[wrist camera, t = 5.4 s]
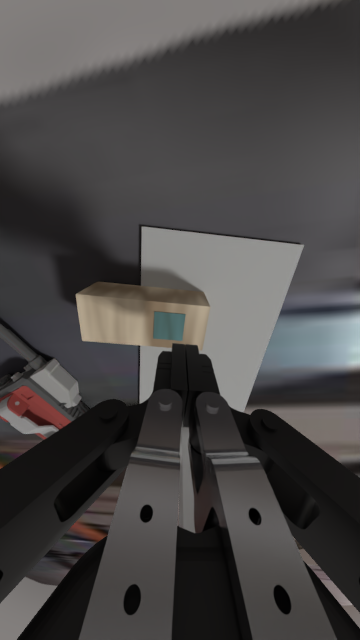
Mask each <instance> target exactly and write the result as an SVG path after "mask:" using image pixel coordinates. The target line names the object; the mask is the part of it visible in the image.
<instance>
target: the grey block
mask: <svg viewBox="0 0 360 640" xmlns="http://www.w3.org/2000/svg"><path fill="white" fill-rule="evenodd" d="M188 439H189V428H182V429H181V438H180V482H179V527H181V528H183V529H186V530H188V531H191V532H193V533H195V526H194V493H193V485H192V477H191V468H190V460H189V452H188Z"/></svg>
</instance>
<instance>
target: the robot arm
mask: <svg viewBox="0 0 360 640" xmlns="http://www.w3.org/2000/svg"><path fill="white" fill-rule="evenodd" d="M182 422H183V427H189V439H188V452H189V460H190V468H191V477H192V485H193V493H194V526H195V533H193V532H191V531H188V530H186V529H183V528H181V527H179V526H177V521H178V502H179V482H180V438H181V427H182ZM126 466H127V470H126V473H125V477H124V480H123V484H122V488H121V491H120V495H119V498H118V502H117V505H116V509H115V512H114V516H113V520H112V523H111V527H110V530H109V534H108V536H106V537H105V538H103V539H102V540H100V541H99V542H98V543H96V544H95V545H94V546H93V547H92V548H90V549H89V550H88V551H87V552H86V553H85V554H84V555H83V556H82V557H81V558H80V559H79V560H78V561H77V563H76V564H75V565H74V566H73V567H72V568H71V570H70V571H69V572H68V573H67V575H66V576H65V577H64V579H63V580H62V581H61V583H60V584H59V585H58V586H57V588H56V589H55V590H54V592H53V593H52V594H51V596H50V597H49V598H48V599H47V601H46V602H45V603H44V605H43V606H42V608H41V609H40V610H39V611H38V613H37V614H36V615H35V616H34V618H33V619H32V620H31V622H30V623H29V624H28V626H27V627H26V628H25V629H24V631H23V632H22V634H21V635H20V636H19V637H18V639H17V640H360V628H359V627H358V626H357V625H356V623H355V622H354V621H353V620H352V619H351V617H350V616H349V615H348V614H347V612H346V611H345V610H344V609H343V608H342V606H341V605H340V604H339V602H338V601H337V600H336V599H335V598H334V596H333V595H332V594H331V593H330V591H329V590H328V589H327V588H326V586H325V585H324V584H323V583H322V582H321V580H320V579H319V578H318V577H317V575H316V574H315V573H314V572H313V571H312V569H311V568H310V567H309V566H308V565H307V564H306V563H305V562H304V561H303V559H302V557H301V555H300V552H299V550H298V548H297V545H296V543H295V541H294V538H295V539H296V540H297V541H298V543H299V544H300V545H301V546H302V547H303V548H304V549H305V551H306V552H307V553H308V554H309V555H310V556H311V557H312V559H313V560H314V561H315V562H316V563H317V564H318V565H319V567H320V568H321V569H322V570H323V571H324V572H325V573H326V575H327V576H328V577H329V578H330V579H331V580H332V581H333V583H334V584H335V585H336V586H337V587H338V588H339V589H340V591H341V592H342V593H343V594H344V595H345V596H346V597H347V599H348V600H349V601H350V602H351V603H352V604H353V605H354V607H356V609H357V610H358V611H359V612H360V478H359V477H358V476H357V475H355V474H354V473H353V472H351V471H350V470H349V469H347V468H346V467H345V466H343V465H342V464H341V463H339V462H338V461H337V460H335V459H334V458H333V457H331V456H330V455H329V454H327V453H326V452H325V451H323V450H322V449H321V448H320V447H318V446H317V445H316V444H314V443H313V442H312V441H310V440H309V439H308V438H306V437H305V436H304V435H302V434H301V433H300V432H298V431H297V430H296V429H294V428H293V427H292V426H290V425H289V424H288V423H286V422H285V421H284V420H282V419H281V418H280V417H278V416H277V415H276V414H274V413H272V412H270V411H268V410H264V409H257V410H254V411H253V412H252V413H251V415H249V414H246V413H243V412H240V411H237V410H235V409H233V408H231V407H230V406H229V405H228V403H227V401H226V400H225V399H224V398H223V397H222V396H221V395H220V392H219V388H218V384H217V380H216V377H215V373H214V369H213V366H212V362H211V359H210V358H209V357H208V356H207V355H206V354H199V349H198V345H191V344H178V343H172V351H162V352H161V353H160V355H159V356H158V361H157V368H156V374H155V380H154V387H153V392H152V394H151V396H150V397H149V398H148V399H147V400H146V401H144V402H142V403H140V404H137V405H133V406H128V407H127V406H126V404H125V403H124V402H122V401H120V400H116V399H110V400H106V401H103V402H101V403H99V404H97V405H96V406H94V407H93V408H91V409H90V410H88V411H87V412H85V413H84V414H82V415H81V416H79V417H78V418H76V419H75V420H73V421H72V422H70V423H69V424H67V425H66V426H64V427H63V428H61V429H60V430H58V431H57V432H55V433H54V434H52V435H51V436H49V437H48V438H46V439H45V440H43V441H42V442H40V443H39V444H37V445H36V446H34V447H33V448H31V449H30V450H28V451H27V452H25V453H24V454H22V455H21V456H19V457H18V458H16V459H15V460H13V461H12V462H10V463H9V464H7V465H6V466H4V467H3V468H1V469H0V603H1V602H2V601H3V600H4V598H5V597H6V596H7V595H8V594H9V593H10V592H11V591H12V590H13V589H14V588H15V587H16V585H18V583H19V582H20V581H21V580H22V579H23V578H24V577H25V576H26V575H27V574H28V573H29V572H30V571H31V569H32V568H33V567H34V566H35V565H36V564H37V563H38V562H39V561H40V560H41V559H42V558H43V556H44V555H45V554H46V553H47V552H48V551H49V550H50V549H51V548H52V547H53V546H54V545H55V544H56V542H57V541H58V540H59V539H60V538H61V537H62V536H63V535H64V534H65V533H66V532H67V531H68V530H69V528H70V527H71V526H72V525H73V524H74V523H75V522H76V521H77V520H78V519H79V518H80V517H81V516H82V514H83V513H84V512H85V511H86V510H87V509H88V508H89V507H90V506H91V505H92V504H93V503H94V501H95V500H96V499H97V498H98V497H99V496H100V495H101V494H102V493H103V492H104V491H105V490H106V489H107V487H108V486H109V485H110V484H111V483H112V482H113V481H114V480H115V479H116V478H117V477H118V476H119V475H120V473H121V472H122V471H123V470H124V469H125V467H126ZM293 537H294V538H293Z"/></svg>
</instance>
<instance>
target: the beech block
mask: <svg viewBox="0 0 360 640" xmlns="http://www.w3.org/2000/svg"><path fill="white" fill-rule="evenodd" d="M76 301H77V308H78V315H79V322H80V328H81V335H82V341H91V342H104V343H116V344H128V345H141V346H153V347H165V348H172V343H178V344H191V345H198V349H199V350H202V349H203V344H204V339H205V333H206V328H207V322H208V317H209V312H210V305H209V302H208V300H207V298H206V296H205V294H204V292H200V291H190V290H179V289H169V288H159V287H149V286H139V285H128V284H118V283H108V282H96V283H94V284H92V285H91V286H89V287H87V288H85V289H83V290H82V291H80V292H78V293H76Z"/></svg>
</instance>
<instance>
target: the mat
mask: <svg viewBox="0 0 360 640" xmlns="http://www.w3.org/2000/svg"><path fill="white" fill-rule="evenodd" d="M303 247H304V245H299V244H290V243H281V242H273V241H264V240H255V239H247V238H238V237H229V236H221V235H212V234H203V233H195V232H186V231H177V230H168V229H160V228H151V227H142V244H141V286H149V287H159V288H169V289H179V290H190V291H200V292H204V294H205V296H206V298H207V300H208V302H209V305H210V312H209V317H208V322H207V328H206V333H205V339H204V344H203V349H202V350H199V354H206V355H207V356H208V357H209V358H210V359H211V362H212V366H213V369H214V373H215V377H216V380H217V384H218V388H219V392H220V395H221V396H222V397H223V398H224V399H225V400H226V401H227V403H228V405H229V406H230V407H231V408H233V409H235V410H237V411H240V412H244V409H245V406H246V404H247V401H248V398H249V395H250V393H251V390H252V387H253V384H254V382H255V379H256V376H257V373H258V371H259V368H260V365H261V362H262V360H263V357H264V354H265V351H266V349H267V346H268V343H269V340H270V338H271V335H272V332H273V329H274V327H275V324H276V321H277V318H278V316H279V313H280V310H281V307H282V305H283V302H284V299H285V296H286V294H287V291H288V288H289V285H290V283H291V280H292V277H293V274H294V272H295V269H296V266H297V263H298V261H299V258H300V255H301V252H302V249H303ZM162 351H172V348H165V347H153V346H141V345H140V403H142V402H144V401H146V400H147V399H148V398H149V397H150V396H151V394H152V392H153V387H154V380H155V374H156V368H157V361H158V356H159V355H160V353H161V352H162ZM182 428H189V427H183V422H182V427H181V429H182Z"/></svg>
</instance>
